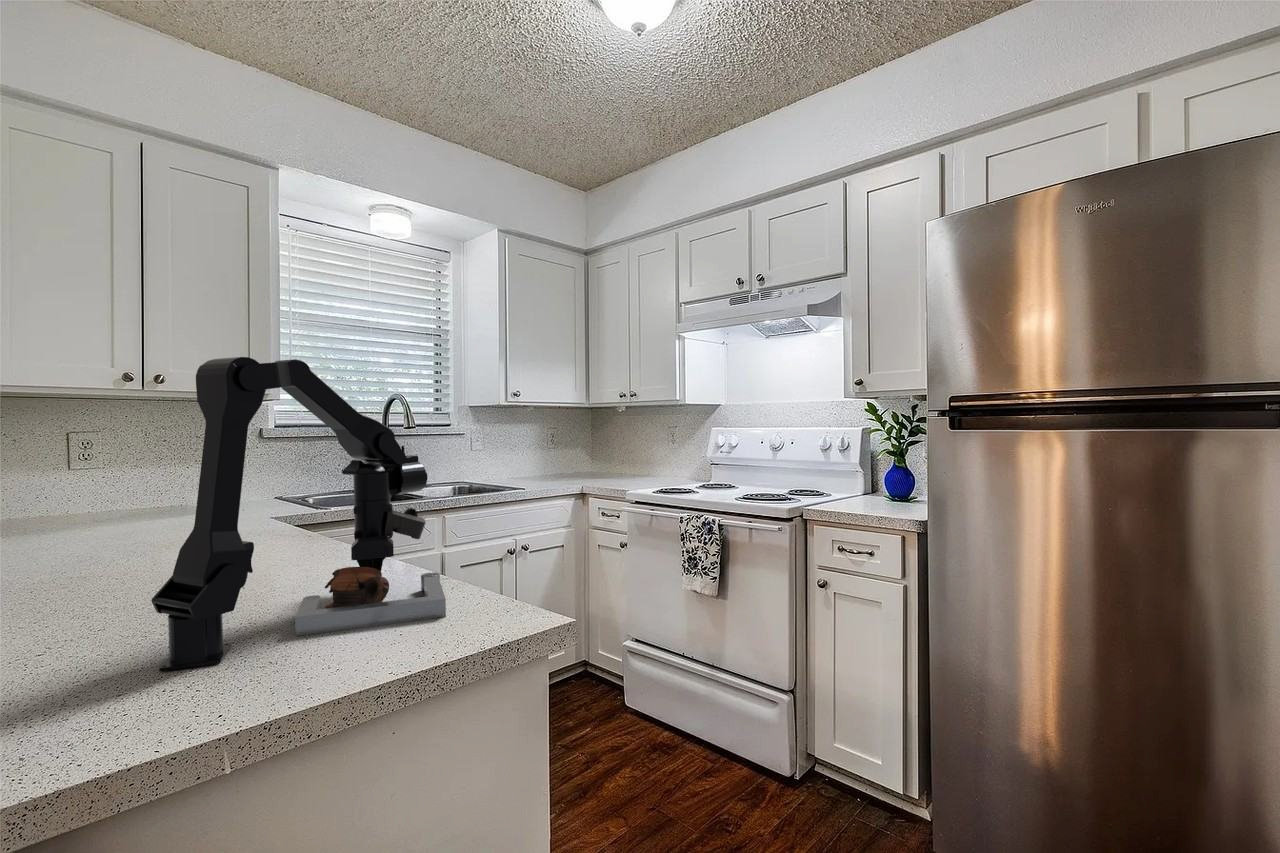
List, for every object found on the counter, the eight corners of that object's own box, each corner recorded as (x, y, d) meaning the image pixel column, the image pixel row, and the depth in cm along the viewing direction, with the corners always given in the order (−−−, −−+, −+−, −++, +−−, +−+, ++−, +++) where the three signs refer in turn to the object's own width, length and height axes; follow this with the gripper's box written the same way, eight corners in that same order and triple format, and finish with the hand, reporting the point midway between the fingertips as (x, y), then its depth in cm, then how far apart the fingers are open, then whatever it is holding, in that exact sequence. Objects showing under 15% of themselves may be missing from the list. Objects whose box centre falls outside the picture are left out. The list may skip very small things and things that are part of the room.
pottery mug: (305, 623, 96) (314, 570, 100) (352, 632, 103) (359, 583, 107) (365, 610, 92) (372, 556, 96) (410, 620, 100) (415, 570, 104)
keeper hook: (448, 616, 97) (448, 598, 97) (295, 636, 89) (295, 616, 89) (439, 586, 113) (438, 571, 113) (309, 601, 105) (309, 585, 105)
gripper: (425, 503, 101) (427, 598, 101) (418, 489, 118) (420, 570, 119) (350, 508, 97) (352, 607, 97) (354, 493, 114) (356, 577, 114)
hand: (374, 588), depth 107 cm, fingers closed
